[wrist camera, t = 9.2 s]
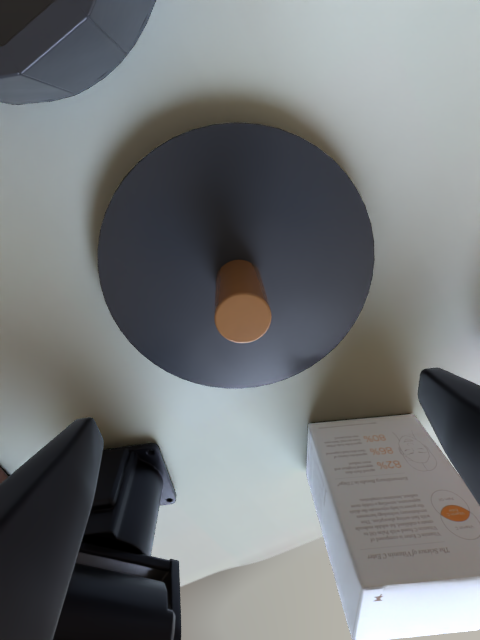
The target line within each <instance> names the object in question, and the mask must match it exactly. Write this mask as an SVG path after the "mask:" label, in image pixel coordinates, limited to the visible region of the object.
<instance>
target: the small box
mask: <svg viewBox="0 0 480 640" xmlns="http://www.w3.org/2000/svg"><path fill="white" fill-rule="evenodd" d="M306 475H307V479H308V483H309V486H310V490H311V494H312V498H313V501H314V505H315V508H316V512H317V516H318V519H319V523H320V526H321V530H322V534H323V537H324V541H325V545H326V548H327V552H328V555H329V559H330V563H331V566H332V570H333V573H334V577H335V581H336V584H337V588H338V592H339V596H340V599H341V603H342V606H343V610H344V613H345V617H346V620H347V624H348V628H349V631H350V634H351V637H352V640H388V639H398V638H408V637H417V636H426V635H436V634H445V633H454V632H465V631H473V630H480V506H479V504H478V503H477V501H476V500H475V498H474V496H473V495H472V493H471V492H470V490H469V489H468V487H467V486H466V484H465V483H464V481H463V479H462V478H461V477H460V476H459V474H458V473H457V471H456V470H455V469H454V467H453V466H452V465H451V463H450V462H449V461H448V459H447V458H446V457H445V455H444V454H443V453H442V451H441V450H440V449H439V447H438V446H437V445H436V443H435V442H434V440H433V439H432V438H431V437H430V435H429V434H428V432H427V431H426V430H425V428H424V427H423V426H422V424H421V423H420V422H419V420H418V419H417V417H416V416H415V415H414V414H407V415H397V416H386V417H375V418H364V419H353V420H342V421H332V422H321V423H310V424H308V444H307V470H306Z"/></svg>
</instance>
